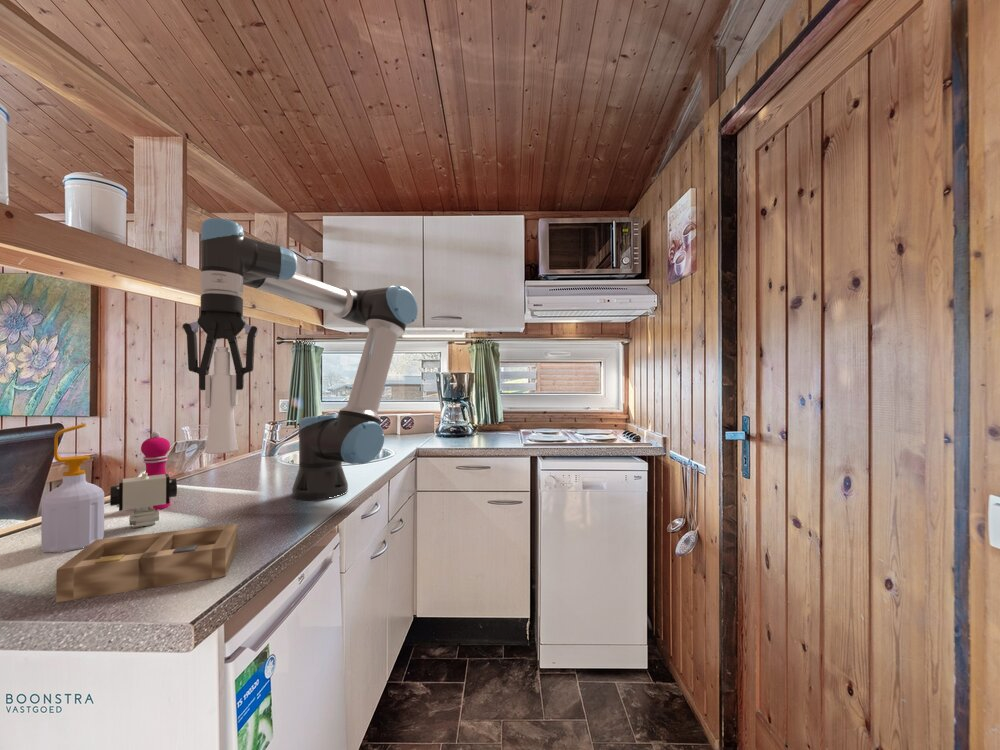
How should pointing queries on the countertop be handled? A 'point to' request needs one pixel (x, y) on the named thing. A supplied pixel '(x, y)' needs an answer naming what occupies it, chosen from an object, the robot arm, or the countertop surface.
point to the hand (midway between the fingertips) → (221, 405)
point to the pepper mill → (155, 457)
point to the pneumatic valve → (143, 496)
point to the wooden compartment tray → (147, 562)
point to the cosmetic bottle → (221, 407)
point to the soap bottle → (72, 507)
